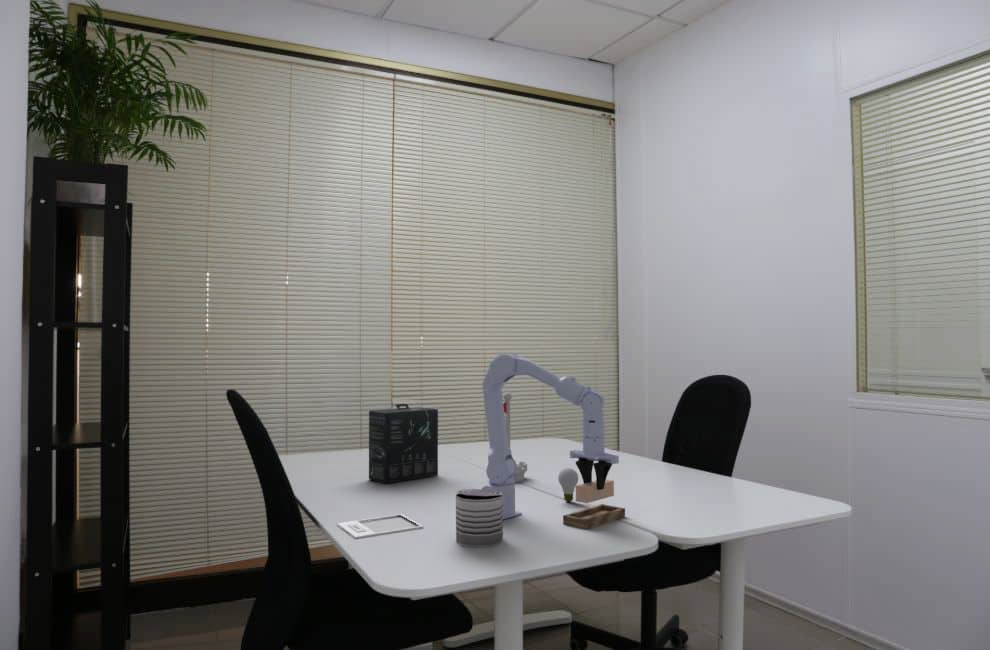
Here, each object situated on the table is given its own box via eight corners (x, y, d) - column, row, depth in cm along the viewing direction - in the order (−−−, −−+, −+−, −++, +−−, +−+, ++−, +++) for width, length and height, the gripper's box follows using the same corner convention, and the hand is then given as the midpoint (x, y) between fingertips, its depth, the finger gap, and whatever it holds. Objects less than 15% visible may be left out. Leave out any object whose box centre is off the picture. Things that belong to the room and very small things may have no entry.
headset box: (419, 471, 252) (419, 401, 253) (439, 475, 243) (439, 403, 244) (367, 479, 237) (366, 405, 238) (386, 484, 228) (385, 407, 229)
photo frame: (336, 522, 178) (401, 513, 187) (336, 526, 178) (401, 517, 187) (355, 536, 165) (423, 525, 174) (355, 540, 165) (423, 529, 174)
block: (586, 503, 175) (586, 487, 175) (575, 501, 177) (575, 485, 177) (613, 495, 183) (613, 480, 184) (603, 493, 186) (603, 479, 186)
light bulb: (567, 498, 205) (566, 465, 205) (582, 502, 201) (582, 467, 201) (554, 502, 201) (554, 468, 201) (570, 505, 197) (569, 470, 197)
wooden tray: (586, 529, 171) (586, 520, 171) (563, 524, 177) (563, 515, 177) (625, 516, 183) (624, 508, 183) (602, 512, 189) (602, 504, 189)
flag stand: (503, 474, 245) (502, 390, 246) (534, 477, 238) (533, 391, 238) (482, 480, 235) (481, 392, 235) (513, 484, 227) (512, 394, 228)
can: (445, 540, 163) (445, 490, 163) (480, 531, 171) (480, 483, 171) (478, 551, 154) (478, 497, 155) (513, 540, 162) (512, 489, 163)
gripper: (625, 437, 178) (625, 489, 178) (580, 432, 188) (581, 482, 188) (609, 440, 173) (610, 494, 173) (564, 435, 183) (565, 486, 183)
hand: (594, 488), depth 180 cm, fingers closed on block, 3 cm apart
